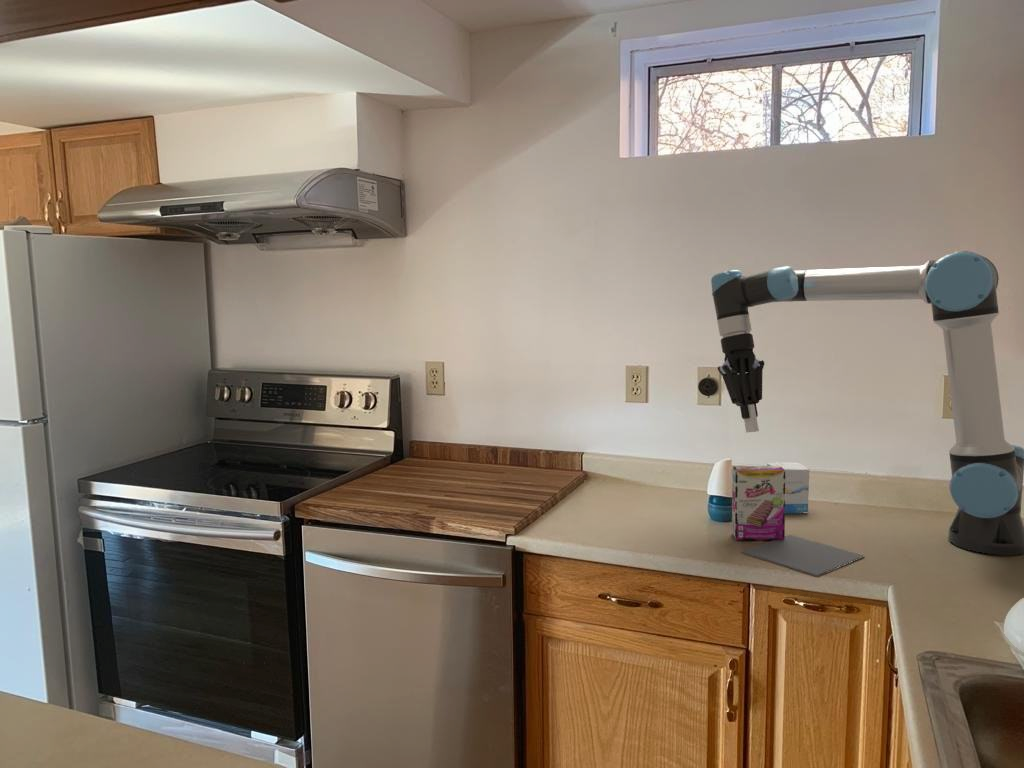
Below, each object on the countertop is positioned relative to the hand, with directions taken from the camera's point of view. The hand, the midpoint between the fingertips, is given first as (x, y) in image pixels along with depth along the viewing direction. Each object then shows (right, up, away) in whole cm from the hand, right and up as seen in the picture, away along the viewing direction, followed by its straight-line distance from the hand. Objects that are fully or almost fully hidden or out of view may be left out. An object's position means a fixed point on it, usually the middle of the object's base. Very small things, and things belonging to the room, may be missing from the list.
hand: (752, 431), depth 185 cm
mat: (+5, -25, -19) cm, 32 cm away
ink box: (+14, -21, +16) cm, 30 cm away
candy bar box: (-1, -24, -8) cm, 25 cm away
